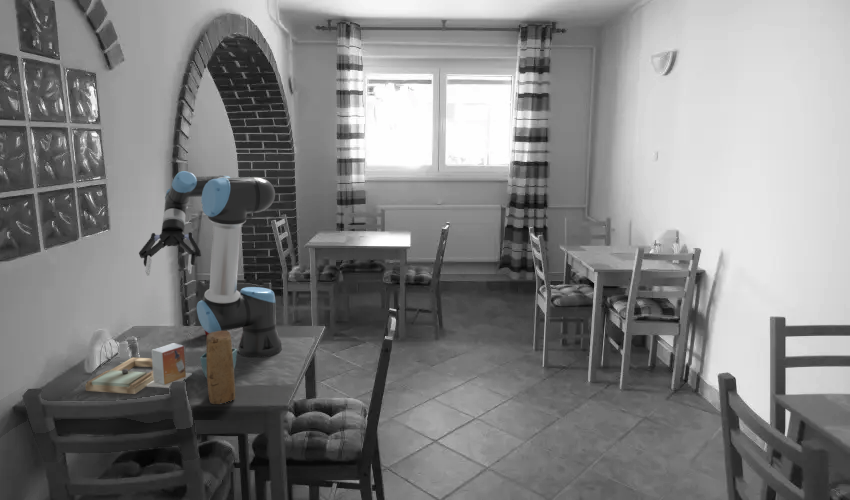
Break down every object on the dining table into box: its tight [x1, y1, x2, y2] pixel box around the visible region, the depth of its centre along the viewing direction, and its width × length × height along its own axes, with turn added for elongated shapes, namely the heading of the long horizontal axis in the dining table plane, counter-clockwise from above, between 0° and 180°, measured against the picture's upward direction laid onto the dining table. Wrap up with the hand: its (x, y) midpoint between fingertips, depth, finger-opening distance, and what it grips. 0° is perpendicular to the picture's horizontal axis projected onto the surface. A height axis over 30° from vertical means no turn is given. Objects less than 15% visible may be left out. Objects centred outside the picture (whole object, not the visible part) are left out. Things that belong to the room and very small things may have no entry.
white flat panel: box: [145, 372, 193, 389], centre depth 184 cm, size 9×11×1 cm
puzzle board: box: [85, 357, 153, 395], centre depth 186 cm, size 16×23×4 cm
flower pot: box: [199, 348, 238, 379], centre depth 184 cm, size 9×9×9 cm
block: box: [205, 330, 236, 405], centre depth 170 cm, size 11×8×20 cm
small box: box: [151, 342, 187, 385], centre depth 183 cm, size 8×6×10 cm
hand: (168, 272), depth 202 cm, fingers open, 13 cm apart
